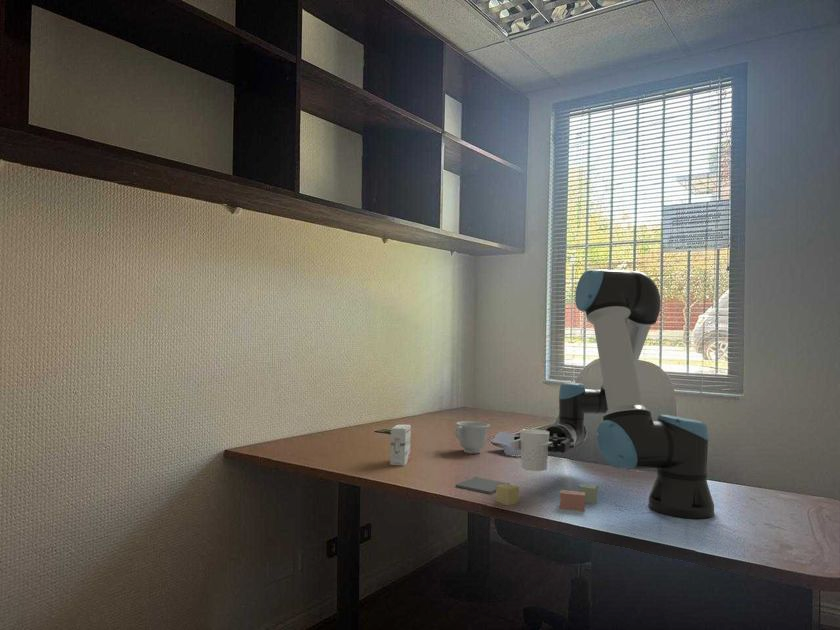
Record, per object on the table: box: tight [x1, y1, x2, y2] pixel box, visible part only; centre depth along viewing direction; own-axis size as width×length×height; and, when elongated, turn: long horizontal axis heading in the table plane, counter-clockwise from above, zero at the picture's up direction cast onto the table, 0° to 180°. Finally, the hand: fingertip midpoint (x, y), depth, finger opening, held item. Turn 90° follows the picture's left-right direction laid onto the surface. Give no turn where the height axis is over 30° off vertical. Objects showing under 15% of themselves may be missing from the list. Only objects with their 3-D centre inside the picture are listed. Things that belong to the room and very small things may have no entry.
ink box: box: [389, 424, 412, 467], centre depth 191 cm, size 9×5×12 cm, turn 168°
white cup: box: [519, 428, 550, 472], centre depth 161 cm, size 8×8×10 cm
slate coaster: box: [455, 476, 510, 495], centre depth 166 cm, size 11×11×1 cm
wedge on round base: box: [491, 430, 521, 456], centre depth 211 cm, size 9×7×13 cm
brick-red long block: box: [559, 489, 586, 512], centre depth 148 cm, size 6×3×4 cm, turn 75°
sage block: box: [578, 482, 599, 505], centre depth 155 cm, size 4×4×4 cm
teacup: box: [454, 420, 491, 454], centre depth 210 cm, size 12×15×10 cm
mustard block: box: [495, 483, 520, 506], centre depth 152 cm, size 4×4×4 cm
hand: (526, 448), depth 157 cm, fingers closed on white cup, 7 cm apart
